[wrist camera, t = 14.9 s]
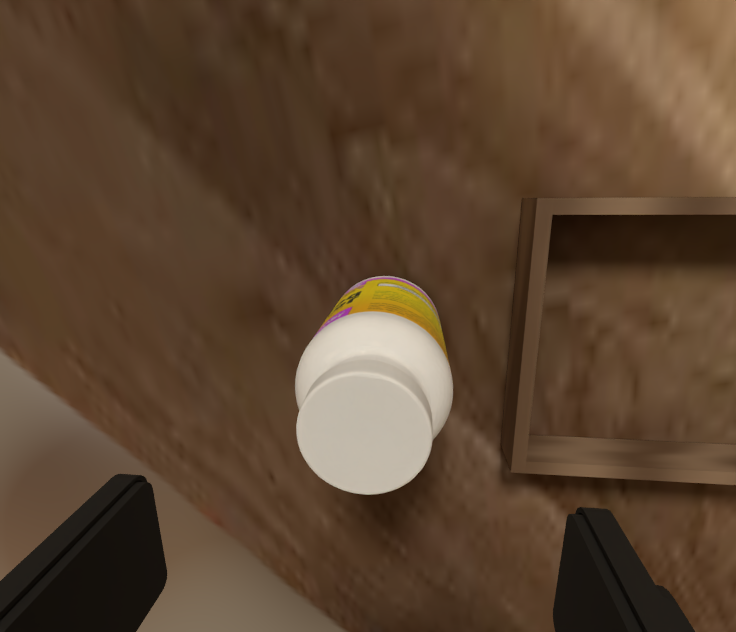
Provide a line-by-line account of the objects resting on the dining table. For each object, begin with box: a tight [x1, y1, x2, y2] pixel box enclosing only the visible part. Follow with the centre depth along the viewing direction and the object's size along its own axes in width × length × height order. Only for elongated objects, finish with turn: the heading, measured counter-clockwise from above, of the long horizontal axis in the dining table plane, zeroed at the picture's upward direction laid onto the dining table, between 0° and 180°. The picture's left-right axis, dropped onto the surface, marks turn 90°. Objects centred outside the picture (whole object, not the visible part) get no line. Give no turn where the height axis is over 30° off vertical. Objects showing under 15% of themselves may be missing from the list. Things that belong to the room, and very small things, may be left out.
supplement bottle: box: [295, 276, 453, 495], centre depth 20 cm, size 7×7×13 cm
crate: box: [501, 197, 736, 485], centre depth 24 cm, size 16×16×3 cm
